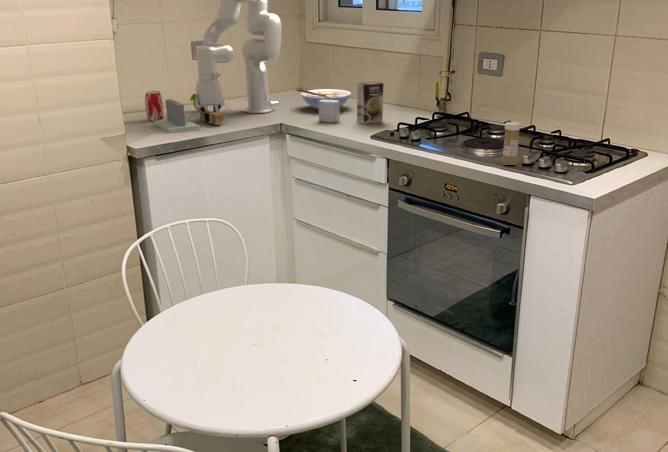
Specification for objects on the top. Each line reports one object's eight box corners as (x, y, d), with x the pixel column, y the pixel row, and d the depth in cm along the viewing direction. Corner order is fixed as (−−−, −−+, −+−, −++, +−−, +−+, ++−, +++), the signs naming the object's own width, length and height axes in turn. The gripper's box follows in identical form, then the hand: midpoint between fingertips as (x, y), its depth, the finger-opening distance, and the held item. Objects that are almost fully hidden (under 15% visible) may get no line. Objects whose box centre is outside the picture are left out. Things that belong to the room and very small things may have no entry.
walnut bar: (200, 119, 279) (199, 110, 278) (207, 119, 281) (206, 109, 279) (216, 124, 264) (215, 114, 263) (223, 123, 266) (222, 114, 265)
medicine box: (339, 121, 273) (339, 100, 270) (336, 123, 269) (336, 102, 266) (322, 119, 276) (321, 99, 273) (318, 122, 272) (318, 101, 269)
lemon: (209, 110, 298) (207, 88, 295) (205, 112, 293) (203, 90, 289) (195, 110, 299) (193, 88, 295) (191, 112, 294) (189, 90, 290)
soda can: (159, 122, 274) (156, 93, 270) (144, 121, 276) (141, 93, 271) (167, 118, 281) (164, 90, 277) (152, 118, 282) (148, 90, 278)
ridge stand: (182, 121, 276) (180, 97, 272) (199, 129, 261) (197, 104, 257) (155, 124, 270) (152, 100, 266) (170, 132, 255) (167, 107, 251)
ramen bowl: (362, 110, 294) (362, 92, 291) (320, 116, 282) (319, 97, 279) (331, 102, 314) (331, 85, 311) (290, 108, 302) (290, 90, 299)
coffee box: (364, 124, 266) (364, 84, 260) (356, 122, 271) (356, 82, 265) (383, 122, 269) (384, 83, 264) (375, 119, 275) (375, 81, 269)
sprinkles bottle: (499, 163, 208) (502, 121, 204) (512, 162, 209) (516, 121, 204) (505, 167, 204) (509, 124, 199) (519, 166, 205) (523, 124, 200)
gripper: (222, 74, 273) (225, 118, 280) (185, 77, 265) (189, 122, 272) (230, 76, 267) (233, 121, 274) (192, 80, 259) (196, 125, 266)
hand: (211, 121), depth 273 cm, fingers closed on walnut bar, 2 cm apart
